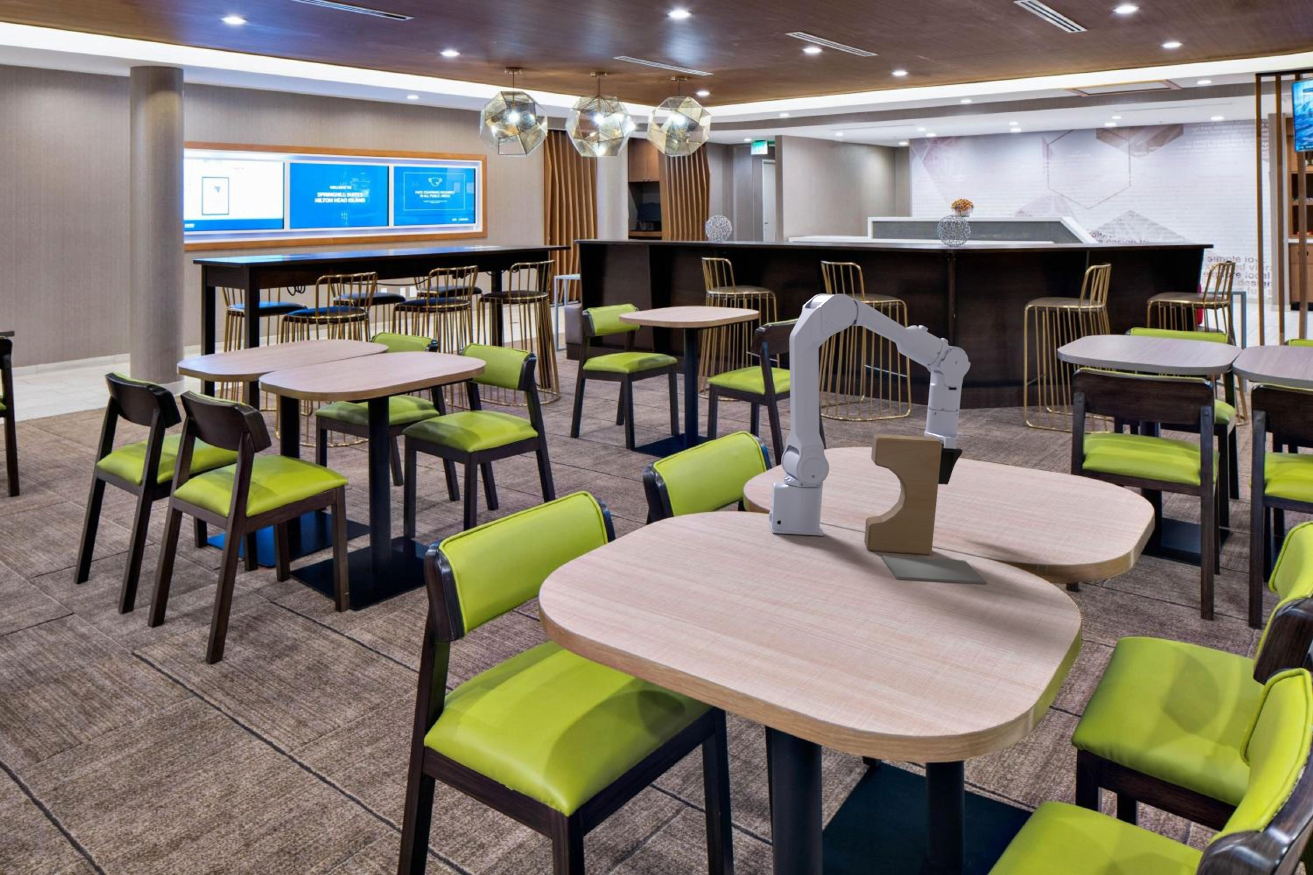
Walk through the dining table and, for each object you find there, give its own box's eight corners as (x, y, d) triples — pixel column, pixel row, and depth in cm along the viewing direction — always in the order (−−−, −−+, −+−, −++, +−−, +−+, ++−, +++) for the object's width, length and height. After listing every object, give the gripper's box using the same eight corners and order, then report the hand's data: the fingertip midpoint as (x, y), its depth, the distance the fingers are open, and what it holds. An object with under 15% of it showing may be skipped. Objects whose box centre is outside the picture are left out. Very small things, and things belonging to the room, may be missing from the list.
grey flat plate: (896, 578, 148) (896, 576, 148) (881, 558, 160) (881, 555, 160) (986, 584, 148) (986, 581, 148) (964, 562, 160) (965, 560, 160)
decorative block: (866, 551, 164) (876, 437, 161) (863, 542, 170) (872, 433, 167) (932, 556, 163) (942, 441, 160) (926, 547, 169) (937, 437, 166)
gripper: (976, 415, 171) (968, 488, 173) (954, 406, 185) (947, 474, 187) (936, 413, 171) (929, 486, 173) (918, 404, 185) (912, 472, 188)
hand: (936, 480), depth 180 cm, fingers open, 7 cm apart
